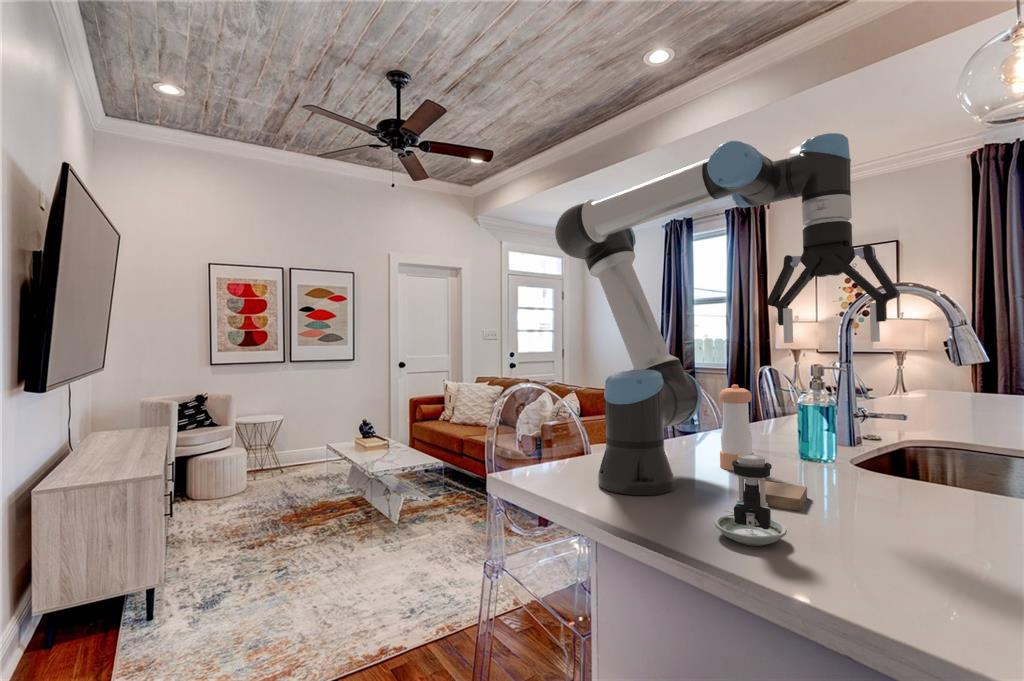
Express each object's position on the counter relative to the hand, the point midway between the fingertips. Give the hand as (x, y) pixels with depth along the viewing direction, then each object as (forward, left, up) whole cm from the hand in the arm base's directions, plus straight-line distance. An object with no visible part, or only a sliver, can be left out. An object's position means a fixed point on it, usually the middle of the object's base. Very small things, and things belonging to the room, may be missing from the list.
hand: (829, 342), depth 91 cm
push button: (-4, -27, -27) cm, 38 cm away
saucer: (-4, -27, -29) cm, 40 cm away
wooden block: (-8, -5, -29) cm, 30 cm away
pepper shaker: (-23, +14, -29) cm, 39 cm away
